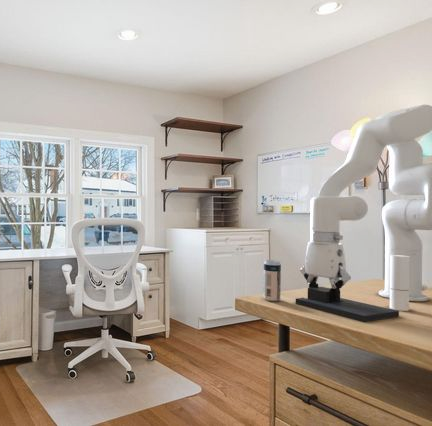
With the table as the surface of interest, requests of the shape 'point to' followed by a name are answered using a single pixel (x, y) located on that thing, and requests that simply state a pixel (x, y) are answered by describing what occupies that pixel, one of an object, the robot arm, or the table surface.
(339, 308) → the dark blue flat slab
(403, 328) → the table surface
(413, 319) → the table surface
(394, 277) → the tube
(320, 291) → the black block
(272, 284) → the beer can
